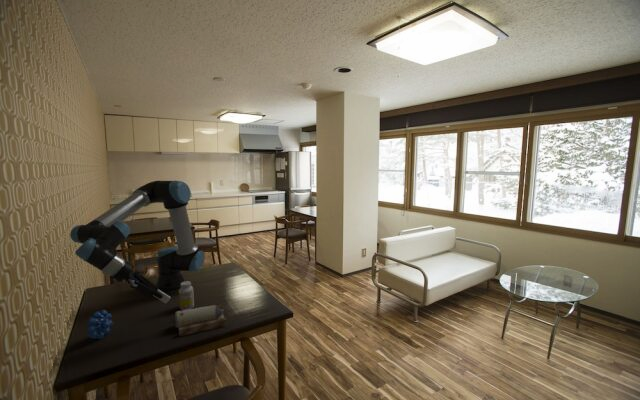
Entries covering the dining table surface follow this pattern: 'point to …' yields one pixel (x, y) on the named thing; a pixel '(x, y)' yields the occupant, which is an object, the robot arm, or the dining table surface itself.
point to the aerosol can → (197, 315)
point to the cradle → (203, 325)
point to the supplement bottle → (186, 296)
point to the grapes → (99, 324)
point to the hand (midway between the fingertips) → (168, 300)
